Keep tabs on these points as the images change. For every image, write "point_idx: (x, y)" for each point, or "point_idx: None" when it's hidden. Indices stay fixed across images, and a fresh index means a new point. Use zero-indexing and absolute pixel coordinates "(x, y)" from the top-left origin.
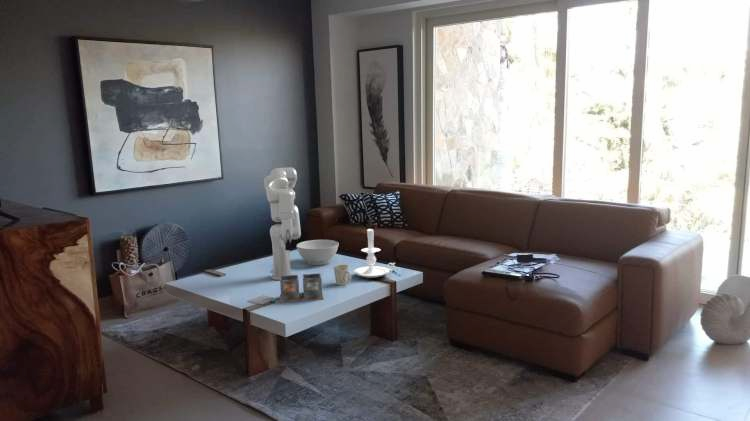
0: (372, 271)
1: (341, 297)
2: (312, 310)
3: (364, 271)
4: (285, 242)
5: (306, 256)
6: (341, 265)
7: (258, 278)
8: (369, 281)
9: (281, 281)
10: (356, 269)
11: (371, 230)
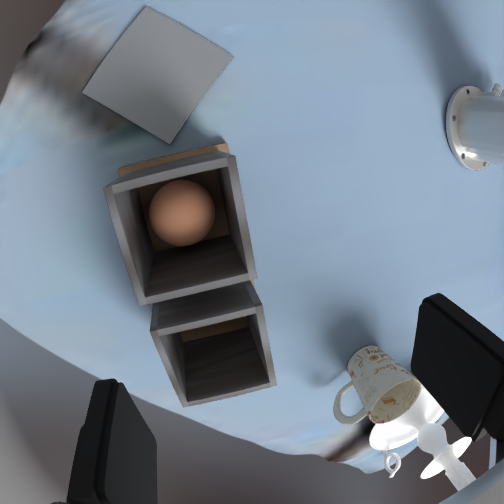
0: (404, 423)
1: None
2: (42, 328)
3: None
4: (459, 325)
5: None
6: (416, 392)
7: (464, 39)
8: (362, 419)
9: (107, 196)
10: None
11: None
